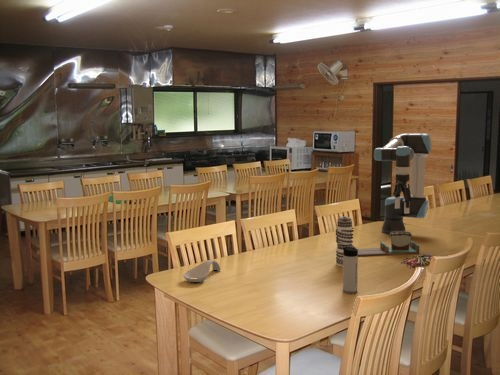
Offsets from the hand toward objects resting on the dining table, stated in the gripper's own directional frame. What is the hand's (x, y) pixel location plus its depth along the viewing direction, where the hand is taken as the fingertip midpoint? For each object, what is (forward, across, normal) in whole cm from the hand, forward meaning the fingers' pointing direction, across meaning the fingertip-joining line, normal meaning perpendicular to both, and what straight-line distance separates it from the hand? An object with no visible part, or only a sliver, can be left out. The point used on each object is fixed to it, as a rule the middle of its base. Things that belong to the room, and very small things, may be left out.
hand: (401, 210), depth 286 cm
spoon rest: (+20, +35, -114) cm, 121 cm away
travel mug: (+20, +64, -50) cm, 84 cm away
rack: (+22, +6, -12) cm, 26 cm away
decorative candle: (+21, +24, -40) cm, 52 cm away
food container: (+21, +5, -3) cm, 22 cm away
